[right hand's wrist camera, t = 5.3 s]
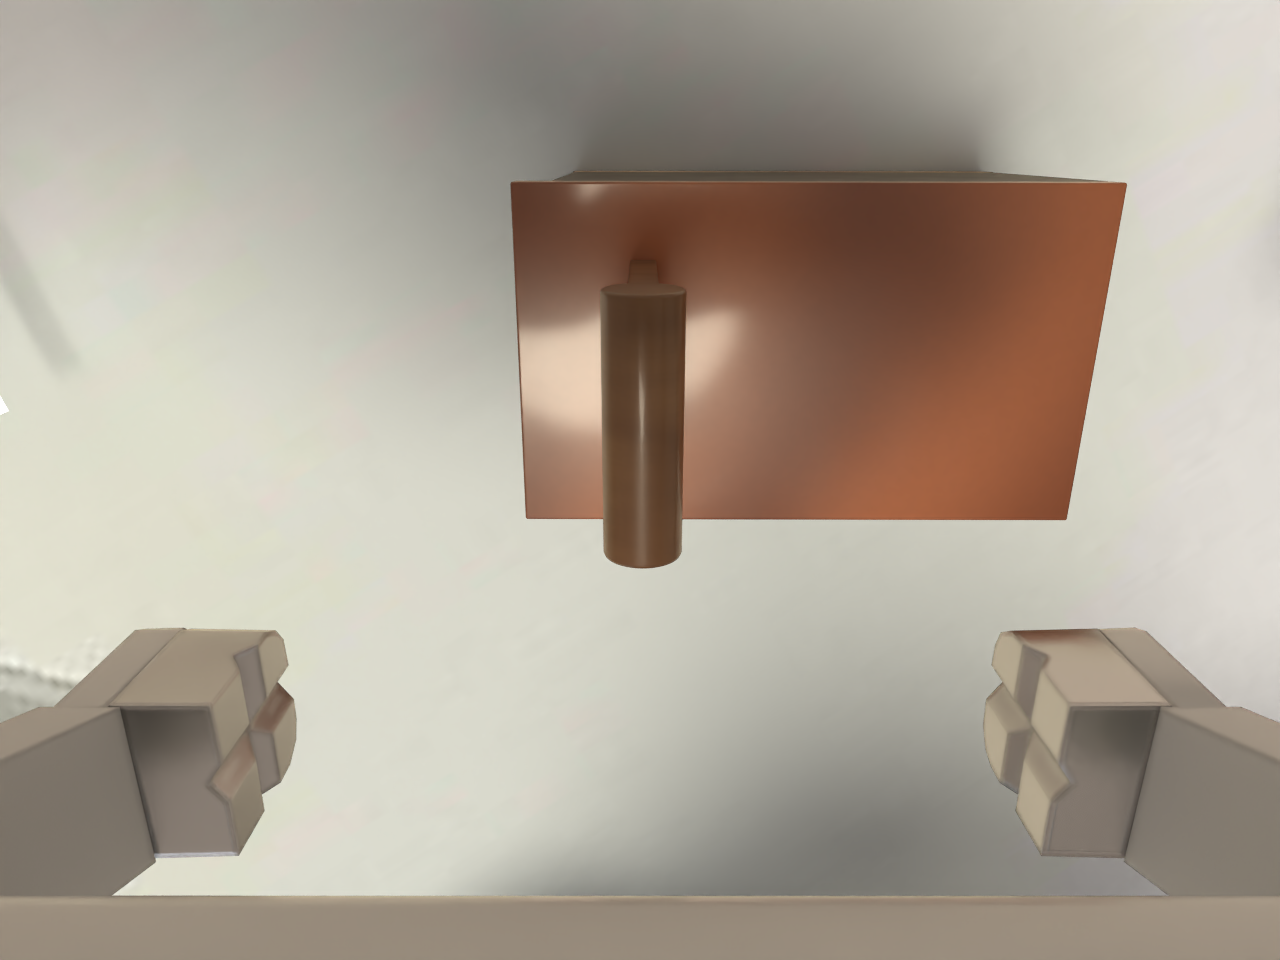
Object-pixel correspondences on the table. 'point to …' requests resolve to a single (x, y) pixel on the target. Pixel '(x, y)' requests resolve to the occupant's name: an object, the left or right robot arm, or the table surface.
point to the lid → (804, 350)
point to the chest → (806, 176)
